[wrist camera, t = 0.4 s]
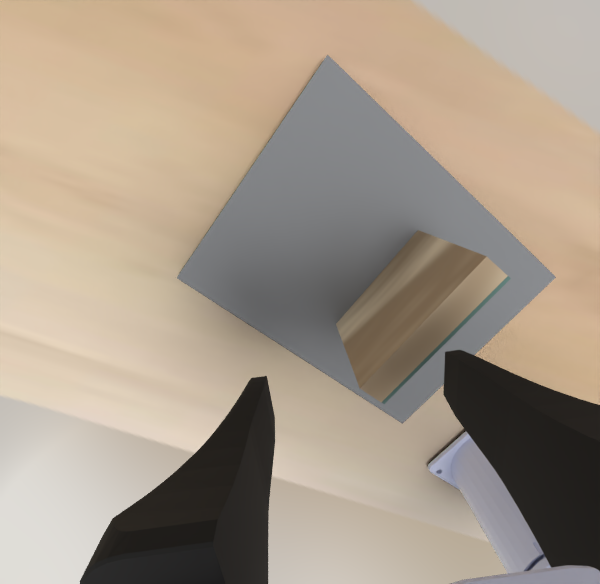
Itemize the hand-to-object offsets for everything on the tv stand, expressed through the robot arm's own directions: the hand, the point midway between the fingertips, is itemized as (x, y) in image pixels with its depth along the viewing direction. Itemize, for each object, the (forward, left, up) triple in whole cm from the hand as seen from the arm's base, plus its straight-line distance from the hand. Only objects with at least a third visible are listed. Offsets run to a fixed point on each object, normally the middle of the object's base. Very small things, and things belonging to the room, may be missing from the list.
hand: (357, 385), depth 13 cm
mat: (-1, -3, -10) cm, 10 cm away
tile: (-2, -3, -9) cm, 10 cm away
